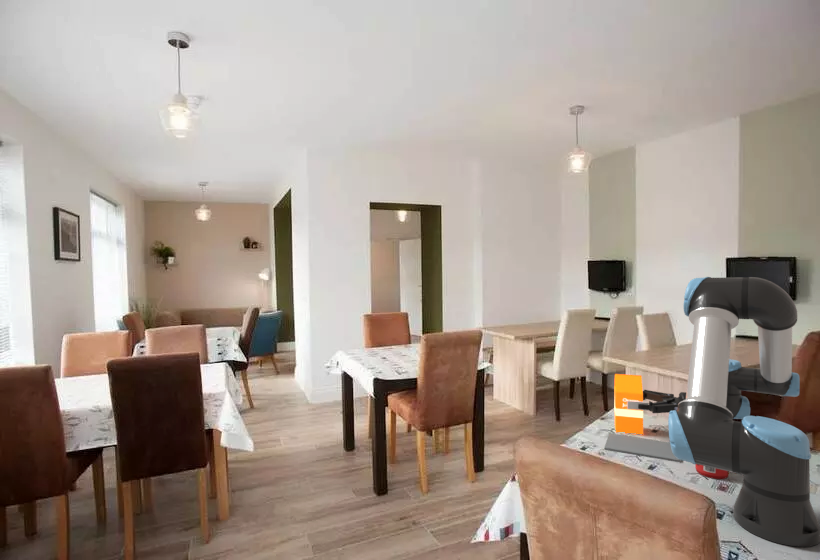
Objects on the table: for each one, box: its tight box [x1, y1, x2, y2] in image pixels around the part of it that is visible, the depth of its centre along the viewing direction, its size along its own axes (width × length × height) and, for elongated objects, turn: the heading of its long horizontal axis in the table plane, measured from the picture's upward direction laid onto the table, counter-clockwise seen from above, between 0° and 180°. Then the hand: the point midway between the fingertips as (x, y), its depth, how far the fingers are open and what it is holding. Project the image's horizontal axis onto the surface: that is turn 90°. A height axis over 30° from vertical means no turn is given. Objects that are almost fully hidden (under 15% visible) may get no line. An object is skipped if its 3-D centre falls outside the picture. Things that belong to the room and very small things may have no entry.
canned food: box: [694, 464, 730, 480], centre depth 126 cm, size 8×8×11 cm
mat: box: [604, 433, 682, 463], centre depth 145 cm, size 14×21×1 cm, turn 60°
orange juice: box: [613, 373, 644, 435], centre depth 160 cm, size 8×9×20 cm
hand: (625, 399), depth 160 cm, fingers open, 13 cm apart
